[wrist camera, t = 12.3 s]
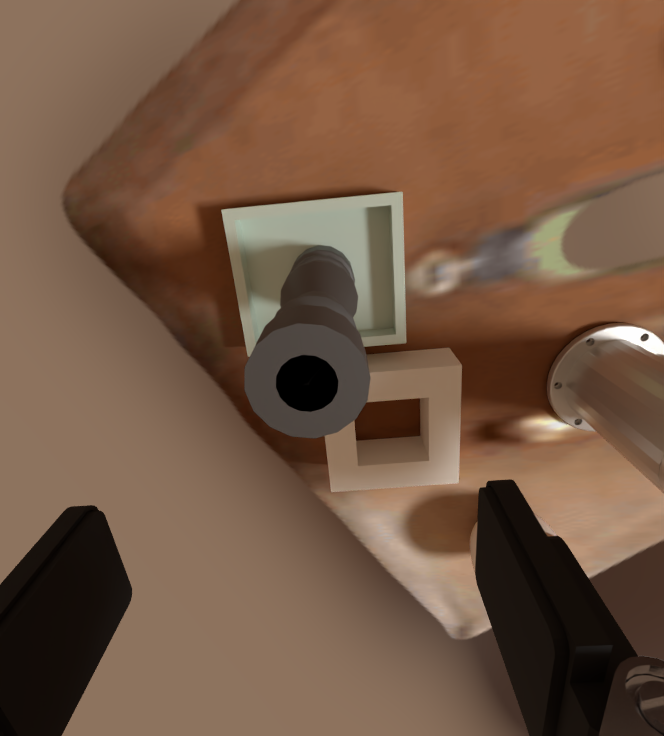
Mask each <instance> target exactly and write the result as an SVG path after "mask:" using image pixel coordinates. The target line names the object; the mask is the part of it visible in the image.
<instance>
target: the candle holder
mask: <svg viewBox="0 0 664 736" xmlns="http://www.w3.org/2000/svg"><path fill="white" fill-rule="evenodd" d="M357 303H358V294H357V291H356V287H355V278H354V274H353V270H352V267H351V263H350V261H349V260H348V259H347V258H346V256H345V255H344V254H343V253H342V252H341V251H339V250H337V249H335V248H333V247H331V246H322V245H318V246H315V247H312V248H309V249H306V250H305V251H304V252H303V253H302V254H301V255H299V256H298V257H297V259H296V261H295V262H294V265H293V267H292V269H291V271H290V273H289V275H288V276H287V278H286V280H285V282H284V284H283V287H282V289H281V297H280V306H281V308H280V309H279V310H278V311H277V313H276V315H275V317H274V318H273V319H272V320H271V321H270V322H269V323H268V324H266V325H265V327H264V329H263V331H262V333H261V335H260V337H259V339H258V341H257V343H256V345H255V347H254V349H253V351H252V353H251V355H250V357H249V360H248V362H247V364H246V366H245V393H246V395H247V397H248V399H249V402H250V404H251V406H252V408H253V411H254V412H255V413H256V414H257V415H258V416H259V417H260V418H261V419H262V420H263V421H264V422H265V423H266V424H268V425H269V426H270V427H271V428H273V429H276V430H278V431H280V432H282V433H285V434H287V435H289V436H292V437H304V438H318V437H322V436H326V435H329V434H333V433H337V432H339V431H340V430H341V429H343V428H344V427H346V426H347V425H348V424H350V423H351V422H353V421H354V420H355V419H356V418H357V417H358V415H359V413H360V412H361V410H362V408H363V407H364V405H365V404H366V402H367V400H368V394H369V386H370V378H371V377H370V372H369V367H368V361H367V356H366V352H365V348H364V345H363V342H362V339H361V335H360V333H359V332H358V330H357V328H356V325H355V322H354V319H353V317H354V315H355V314H356V312H357Z"/></svg>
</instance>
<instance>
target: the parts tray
mask: <svg viewBox="0 0 664 736" xmlns="http://www.w3.org/2000/svg"><path fill="white" fill-rule="evenodd" d="M221 211H222V216H223V222H224V228H225V233H226V239H227V244H228V250H229V255H230V261H231V266H232V272H233V277H234V283H235V288H236V294H237V299H238V305H239V310H240V316H241V322H242V327H243V333H244V338H245V344H246V349H247V355H248V357H249V356H250V355H251V353H252V351H253V349H254V347H255V345H256V343H257V341H258V339H259V337H260V335H261V333H262V331H263V329H264V327H265V325H266V324H268V323H269V322H270V321H271V320H272V319H273V318H274V317H275V315H276V313H277V311H278V310H279V309H280V308H281V306H280V297H281V289H282V287H283V284H284V282H285V280H286V278H287V276H288V275H289V273H290V271H291V269H292V267H293V265H294V262H295V261H296V259H297V257H298V256H299V255H301V254H302V253H303V252H304V251H305V250H306V249H309V248H312V247H315V246H318V245H322V246H331V247H333V248H335V249H337V250H339V251H341V252H342V253H343V254H344V255H345V256H346V258H347V259H348V260H349V261H350V263H351V267H352V270H353V274H354V278H355V287H356V291H357V294H358V303H357V312H356V314H355V315H354V317H353V319H354V322H355V325H356V328H357V330H358V332H359V333H360V335H361V339H362V342H363V345H364V347H368V346H380V345H392V344H403V343H406V307H405V268H404V229H403V192H389V193H379V194H369V195H359V196H349V197H339V198H329V199H318V200H308V201H298V202H288V203H278V204H268V205H258V206H248V207H238V208H228V209H222V210H221Z"/></svg>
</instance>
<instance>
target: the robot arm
mask: <svg viewBox="0 0 664 736" xmlns="http://www.w3.org/2000/svg"><path fill="white" fill-rule="evenodd" d="M547 396H548V400H549V403H550V405H551V407H552V408H553V410H554V412H555V413H556V414H557V415H558V416H559V417H560V418H561V419H562V420H563V421H565V422H566V423H567V424H569V425H571V426H572V427H575V428H578V429H581V430H585V431H595V432H596V431H597V432H598V433H599V434H600V435H601V436H602V437H603V438H604V439H605V440H606V441H607V442H609V443H610V444H611V445H612V446H613V447H614V448H615V449H616V450H617V451H618V452H619V453H620V454H622V455H623V456H624V457H625V458H626V459H627V460H628V461H629V462H630V463H631V464H632V465H633V466H635V467H636V468H637V469H638V470H639V471H640V472H641V473H642V474H643V475H644V476H645V477H646V478H648V479H649V480H650V481H651V482H652V483H653V484H654V485H655V486H656V487H657V488H658V489H659V490H661V491H662V492H663V493H664V343H663V342H662V340H661V339H660V338H659V337H658V336H657V335H655V334H654V333H653V332H651V331H649V330H647V329H645V328H643V327H640V326H637V325H634V324H628V323H612V324H606V325H602V326H598V327H595V328H593V329H591V330H588V331H586V332H584V333H583V334H581V335H579V336H578V337H576V338H575V339H574V340H572V341H571V342H570V343H569V344H568V345H567V346H565V348H564V349H563V350H562V351H561V352H560V354H559V355H558V356H557V358H556V359H555V361H554V363H553V364H552V367H551V369H550V372H549V375H548V380H547ZM475 575H476V581H477V585H478V588H479V591H480V594H481V597H482V600H483V603H484V606H485V608H486V611H487V614H488V617H489V620H490V623H491V626H492V629H493V632H494V634H495V637H496V640H497V643H498V646H499V649H500V652H501V655H502V657H503V660H504V663H505V666H506V669H507V672H508V675H509V677H510V681H511V683H512V686H513V689H514V692H515V695H516V698H517V700H518V704H519V706H520V709H521V712H522V715H523V718H524V721H525V723H526V727H527V729H528V733H529V735H530V736H664V661H663V660H661V659H658V658H653V657H646V656H638V655H637V654H636V652H635V651H634V649H633V647H632V646H631V644H630V643H629V641H628V640H627V638H626V636H625V635H624V633H623V632H622V630H621V629H620V627H619V626H618V624H617V622H616V621H615V619H614V618H613V616H612V615H611V613H610V611H609V610H608V608H607V607H606V606H605V604H604V602H603V601H602V599H601V597H600V596H599V594H598V593H597V591H596V590H595V588H594V586H593V585H592V583H591V582H590V580H589V579H588V577H587V576H586V574H585V572H584V571H583V569H582V568H581V566H580V565H579V563H578V561H577V560H576V558H575V557H574V555H573V554H572V552H571V551H570V549H569V547H568V546H567V544H566V543H565V542H564V541H563V539H562V538H560V537H559V536H547V535H546V533H545V531H544V530H543V528H542V526H541V525H540V523H539V521H538V520H537V518H536V516H535V515H534V513H533V511H532V510H531V508H530V506H529V505H528V503H527V501H526V500H525V498H524V496H523V495H522V493H521V491H520V490H519V488H518V486H517V485H516V483H515V482H514V481H513V480H496V481H488V482H487V484H486V487H484V488H480V489H479V500H478V521H477V541H476V562H475ZM131 597H132V587H131V584H130V581H129V579H128V576H127V573H126V571H125V568H124V565H123V563H122V560H121V558H120V555H119V552H118V549H117V547H116V544H115V542H114V538H113V536H112V533H111V531H110V528H109V525H108V522H107V520H106V517H105V515H104V513H103V512H102V511H99V510H98V509H97V507H95V506H92V505H90V506H74V507H69V508H67V509H66V510H65V511H64V512H63V513H62V514H61V515H60V516H59V518H58V519H57V520H56V521H55V522H54V523H53V525H52V526H51V527H50V528H49V529H48V530H47V531H46V533H45V534H44V535H43V536H42V537H41V538H40V540H39V541H38V542H37V543H36V544H35V545H34V546H33V547H32V549H31V550H30V551H29V552H28V553H27V554H26V555H25V557H24V558H23V559H22V560H21V561H20V562H19V564H18V565H17V566H16V567H15V568H14V569H13V571H12V572H11V573H10V574H9V575H8V576H7V577H6V579H5V580H4V581H3V582H2V583H1V585H0V736H61V735H62V734H63V732H64V730H65V728H66V726H67V724H68V722H69V720H70V718H71V716H72V714H73V712H74V710H75V708H76V707H77V705H78V703H79V701H80V699H81V697H82V695H83V693H84V691H85V689H86V687H87V685H88V683H89V681H90V679H91V677H92V676H93V673H94V672H95V670H96V668H97V666H98V664H99V662H100V660H101V658H102V656H103V654H104V652H105V650H106V648H107V646H108V644H109V642H110V640H111V639H112V637H113V635H114V633H115V631H116V629H117V627H118V625H119V623H120V621H121V619H122V617H123V615H124V613H125V611H126V609H127V608H128V605H129V604H130V601H131Z"/></svg>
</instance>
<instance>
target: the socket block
mask: <svg viewBox="0 0 664 736" xmlns="http://www.w3.org/2000/svg"><path fill="white" fill-rule="evenodd" d="M366 356H367V361H368V367H369V372H370V377H371V378H370V386H369V394H368V400H367V402H377V401H390V400H402V399H415V398H420V436H412V437H399V438H386V439H372V440H359V441H356V434H355V422H354V421H353V422H351V423H350V424H348V425H347V426H346V427H344V428H343V429H341V430H340V431H339V432H337V433H333V434H329V435H326V436H325V443H326V451H327V460H328V469H329V477H330V486H331V492H341V491H355V490H369V489H383V488H397V487H412V486H426V485H440V484H454V483H459V455H460V420H461V385H462V364H461V363H460V362H459V360H458V359H457V358H456V356H455V355H454V353H453V352H452V351H451V349H450V348H437V349H425V350H414V351H402V352H390V353H378V354H366Z"/></svg>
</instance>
